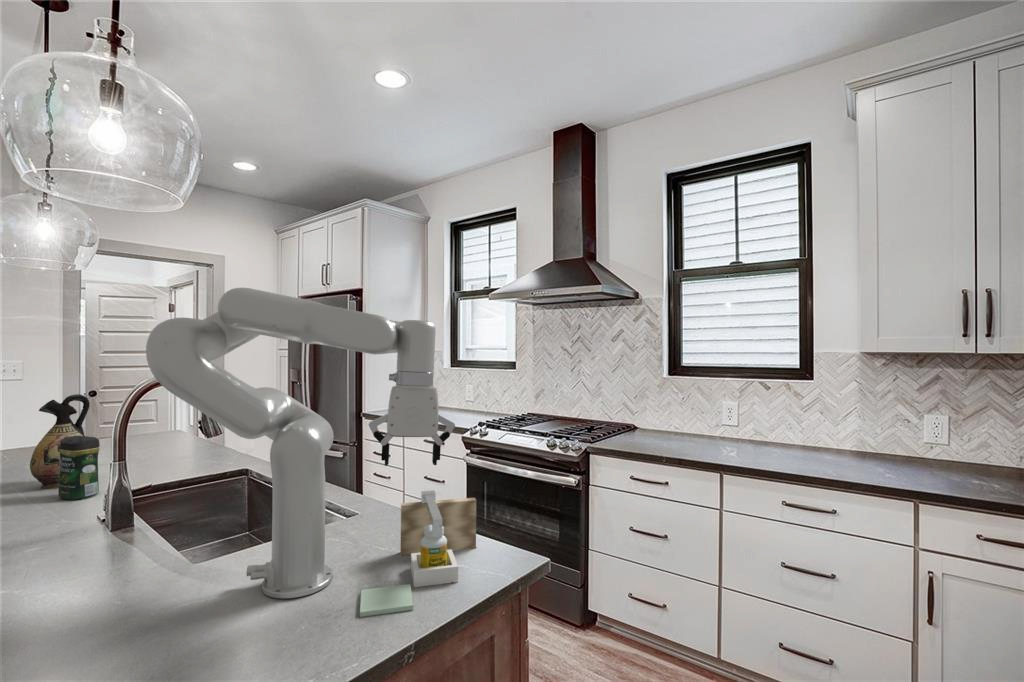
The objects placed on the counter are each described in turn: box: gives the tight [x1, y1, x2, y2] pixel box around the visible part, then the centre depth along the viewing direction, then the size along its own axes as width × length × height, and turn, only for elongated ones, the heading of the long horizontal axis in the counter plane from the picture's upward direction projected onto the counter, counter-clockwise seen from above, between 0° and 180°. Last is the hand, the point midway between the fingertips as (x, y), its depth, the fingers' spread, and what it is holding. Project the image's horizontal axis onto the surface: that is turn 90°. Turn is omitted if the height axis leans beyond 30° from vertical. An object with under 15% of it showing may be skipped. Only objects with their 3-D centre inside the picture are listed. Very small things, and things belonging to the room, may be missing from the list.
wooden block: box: [399, 497, 477, 557], centre depth 111 cm, size 17×2×11 cm, turn 106°
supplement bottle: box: [421, 525, 447, 568], centre depth 99 cm, size 5×5×10 cm
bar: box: [420, 490, 442, 536], centre depth 103 cm, size 3×19×3 cm, turn 16°
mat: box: [359, 583, 414, 618], centre depth 88 cm, size 9×8×1 cm
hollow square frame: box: [410, 549, 459, 588], centre depth 99 cm, size 9×9×3 cm
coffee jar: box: [58, 435, 101, 501], centre depth 148 cm, size 10×8×19 cm
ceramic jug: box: [29, 393, 91, 490], centre depth 161 cm, size 17×15×30 cm
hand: (410, 463), depth 99 cm, fingers open, 9 cm apart
